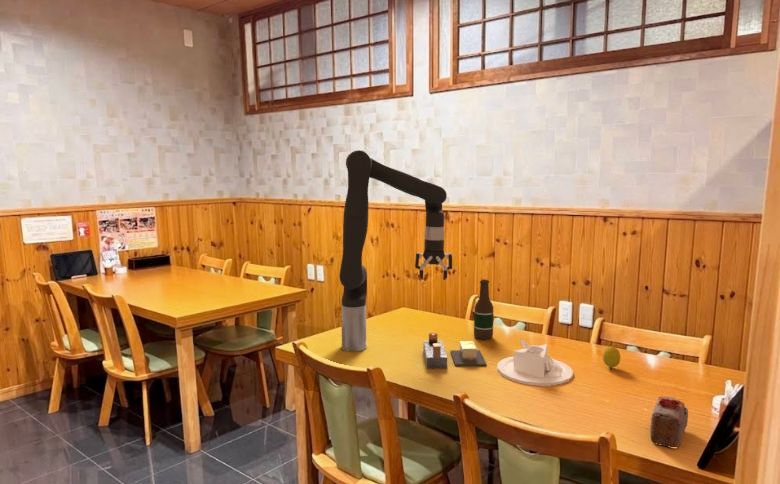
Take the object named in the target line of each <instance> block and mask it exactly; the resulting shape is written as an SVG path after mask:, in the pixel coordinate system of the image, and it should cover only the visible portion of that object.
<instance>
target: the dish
mask: <svg viewBox="0 0 780 484" xmlns="http://www.w3.org/2000/svg"><path fill="white" fill-rule="evenodd" d="M519 342H520V344H521V346H523V347H524V348H521V349H515V350H513V356H508V357H505V358H503V359H501V360H500V361H498V363H497V372H498V373H499V374H500V375H501V377H504V378H506V379H508V380H509V381H513V382H516V383H519V384H522V385H528V386H537V387H539V386H540V387H551V385H553V386H558V385H557V384H560V385H563V384H562V383H564V382H566V383H567V381H568V382H570V381H571V380H572V379H573V377H574V372H573V369H572V368H571V367H570V366H569V365H568V364H566V363H565V362H562V361H559V360H557V359H554V358H552V357H551V356H550V355H548V343H545V344H541V345H535V344H533V345H529V343H528V342H527V341H525V340H524V339H519ZM571 378H572V379H571ZM570 379H571V380H570ZM569 380H570V381H569ZM564 384H565V383H564Z"/></svg>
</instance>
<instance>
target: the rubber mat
mask: <svg viewBox="0 0 780 484" xmlns="http://www.w3.org/2000/svg"><path fill="white" fill-rule="evenodd" d="M449 353H450V355H451V358H452V361H453V365H454V366H455V367H487V365H488V364H487V362H486V360H485V358H484V356H483V354H482V352H481V350H479V349H477V361H462V358H461V356H460V349H459V350H457V349H455V350H452V349H451V350H450V352H449Z"/></svg>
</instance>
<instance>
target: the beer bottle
mask: <svg viewBox="0 0 780 484" xmlns="http://www.w3.org/2000/svg"><path fill="white" fill-rule="evenodd" d="M479 284H480V287H479V297H478V299H477V302H476V303H475V305H474V311H473V313H474V314H473V316H474V317H473V337H474V338H475V339H476V340H479V341H480V340H481V341H490V340H492V338H493V336H494V305H493V302H492V301H491V299H490V290H489V289H490V288H489V285H490V281H489V279H480V280H479Z"/></svg>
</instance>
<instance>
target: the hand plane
mask: <svg viewBox="0 0 780 484" xmlns="http://www.w3.org/2000/svg"><path fill="white" fill-rule="evenodd" d="M423 354H424V355H423V356H424V360H425V365H426V366H425V367H426V369H428V370H429V369H432V370H433V369H434V370H435V369H442V370H443V369H448V356H447V352H446V349H445V346H444V342H443V340H438V333H436V332H430V333H428V340H423Z"/></svg>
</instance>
